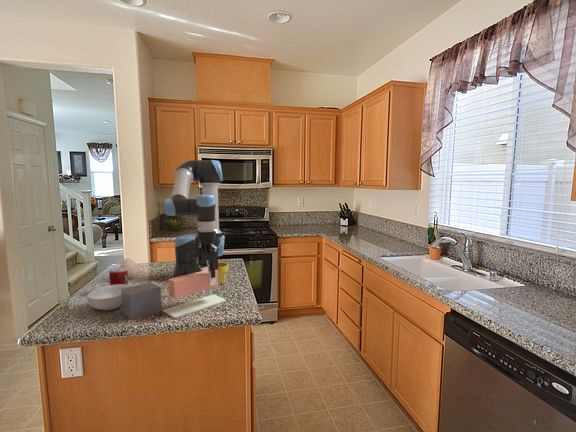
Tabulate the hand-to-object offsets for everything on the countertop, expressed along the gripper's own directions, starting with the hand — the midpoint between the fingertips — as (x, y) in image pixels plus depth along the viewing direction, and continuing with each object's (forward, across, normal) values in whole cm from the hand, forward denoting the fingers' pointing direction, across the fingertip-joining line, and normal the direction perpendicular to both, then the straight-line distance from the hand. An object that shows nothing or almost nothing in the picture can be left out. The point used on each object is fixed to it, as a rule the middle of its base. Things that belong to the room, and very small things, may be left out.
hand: (208, 283), depth 136 cm
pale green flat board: (+9, 0, -6) cm, 11 cm away
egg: (+8, -61, -12) cm, 63 cm away
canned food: (+9, -44, -22) cm, 50 cm away
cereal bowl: (+9, -26, -31) cm, 42 cm away
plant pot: (+9, -19, +18) cm, 27 cm away
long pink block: (+2, 0, -7) cm, 7 cm away
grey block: (+9, -11, -24) cm, 28 cm away
